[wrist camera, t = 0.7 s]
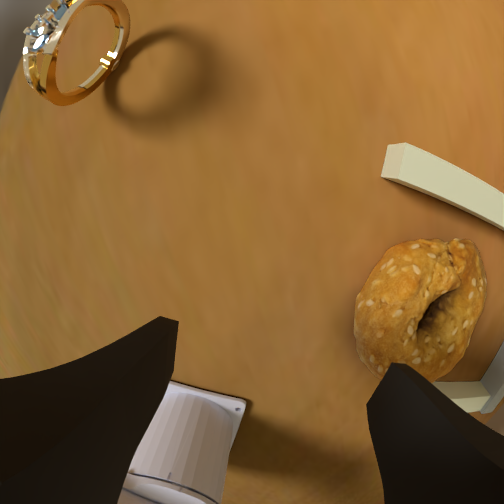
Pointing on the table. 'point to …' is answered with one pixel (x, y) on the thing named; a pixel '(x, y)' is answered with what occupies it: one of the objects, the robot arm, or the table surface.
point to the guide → (476, 203)
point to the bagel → (420, 306)
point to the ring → (50, 36)
